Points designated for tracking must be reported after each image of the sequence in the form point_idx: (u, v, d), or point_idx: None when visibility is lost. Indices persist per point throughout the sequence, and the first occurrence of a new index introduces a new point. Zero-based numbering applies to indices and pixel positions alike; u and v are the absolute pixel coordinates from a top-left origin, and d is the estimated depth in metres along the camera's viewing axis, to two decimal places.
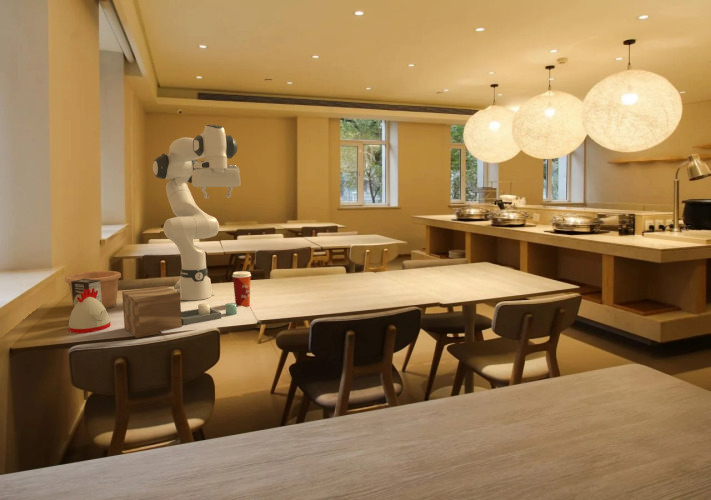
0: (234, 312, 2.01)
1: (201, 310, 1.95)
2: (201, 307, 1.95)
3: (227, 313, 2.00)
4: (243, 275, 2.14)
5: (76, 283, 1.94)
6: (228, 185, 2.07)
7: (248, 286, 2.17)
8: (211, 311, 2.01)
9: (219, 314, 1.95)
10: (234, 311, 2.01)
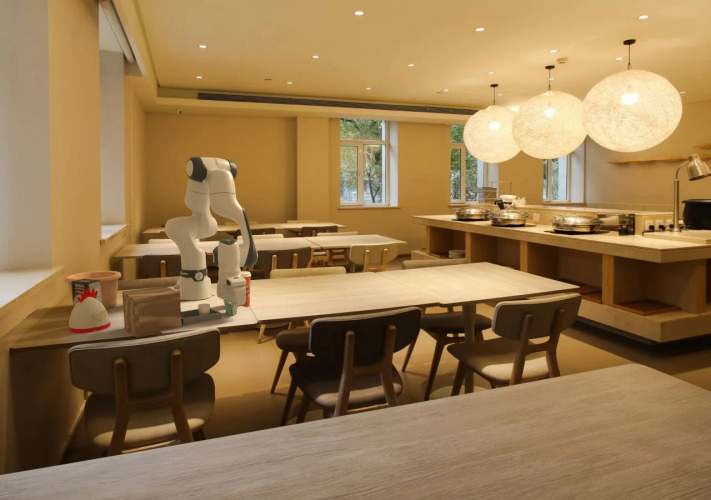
0: None
1: (201, 310, 1.95)
2: (201, 307, 1.95)
3: (227, 313, 2.00)
4: (243, 275, 2.14)
5: (76, 283, 1.94)
6: None
7: (248, 286, 2.17)
8: (211, 311, 2.01)
9: (219, 314, 1.95)
10: None
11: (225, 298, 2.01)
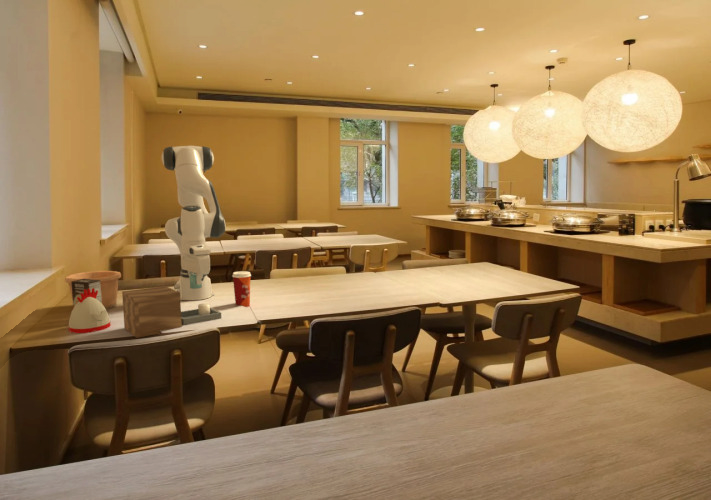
0: None
1: (201, 310, 1.95)
2: (201, 307, 1.95)
3: (191, 284, 1.91)
4: (243, 275, 2.14)
5: (76, 283, 1.94)
6: None
7: (248, 286, 2.17)
8: (211, 311, 2.01)
9: (219, 314, 1.95)
10: None
11: (189, 268, 1.92)
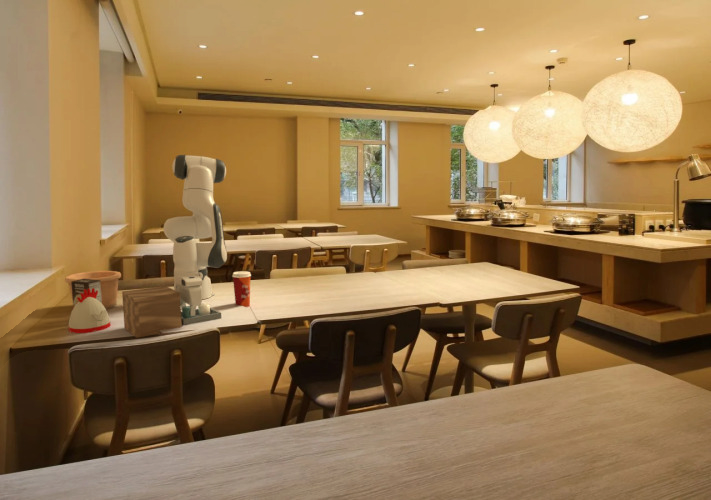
0: None
1: (201, 310, 1.95)
2: (201, 307, 1.95)
3: (184, 317, 1.91)
4: (243, 275, 2.14)
5: (76, 283, 1.94)
6: None
7: (248, 286, 2.17)
8: (211, 311, 2.01)
9: (219, 314, 1.95)
10: None
11: (181, 299, 1.92)
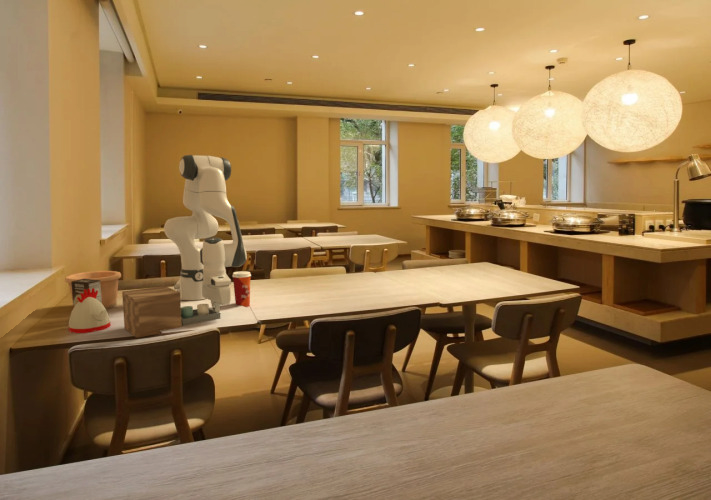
0: (190, 315, 1.91)
1: (200, 310, 1.94)
2: (200, 307, 1.94)
3: (183, 317, 1.91)
4: (243, 275, 2.14)
5: (76, 283, 1.94)
6: None
7: (248, 286, 2.17)
8: (210, 311, 2.00)
9: (218, 314, 1.95)
10: (190, 314, 1.91)
11: (210, 298, 1.99)
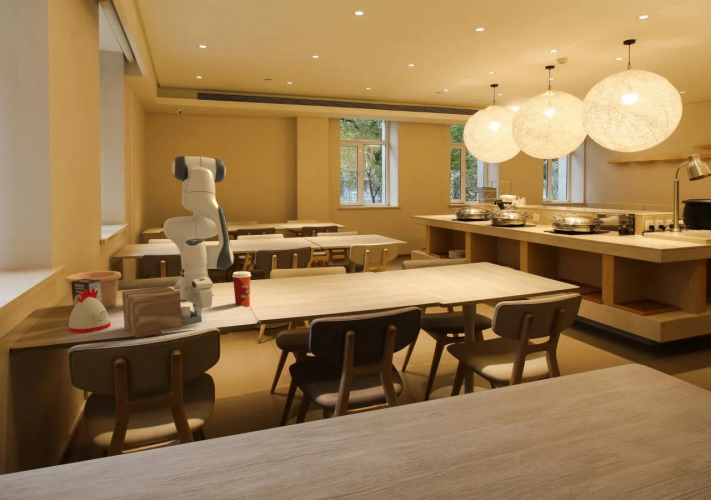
0: None
1: (181, 313, 1.90)
2: (181, 310, 1.90)
3: None
4: (243, 275, 2.14)
5: (76, 283, 1.94)
6: None
7: (248, 286, 2.17)
8: (192, 314, 1.96)
9: (200, 318, 1.90)
10: None
11: (191, 301, 1.94)
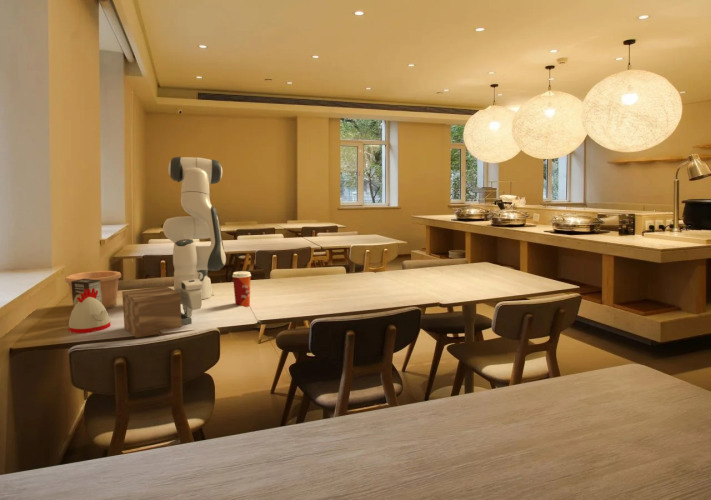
0: None
1: None
2: None
3: None
4: (243, 275, 2.14)
5: (76, 283, 1.94)
6: None
7: (248, 286, 2.17)
8: (182, 316, 1.93)
9: (189, 320, 1.87)
10: None
11: (181, 302, 1.92)
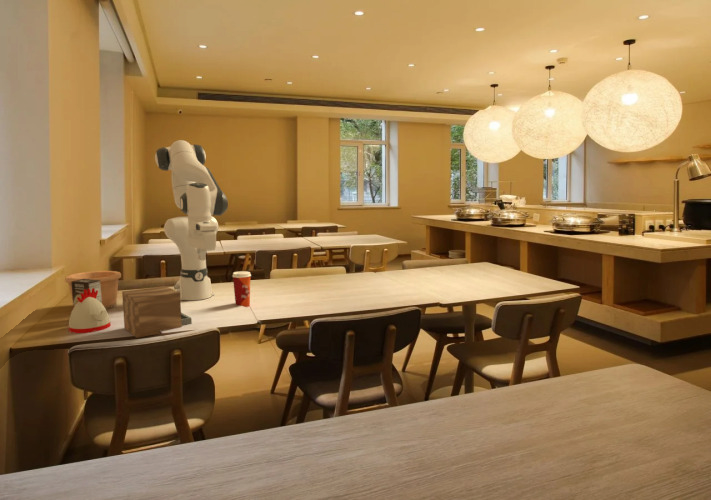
0: None
1: None
2: None
3: None
4: (243, 275, 2.14)
5: (76, 283, 1.94)
6: None
7: (248, 286, 2.17)
8: (182, 316, 1.93)
9: (189, 320, 1.87)
10: None
11: (195, 245, 1.93)
